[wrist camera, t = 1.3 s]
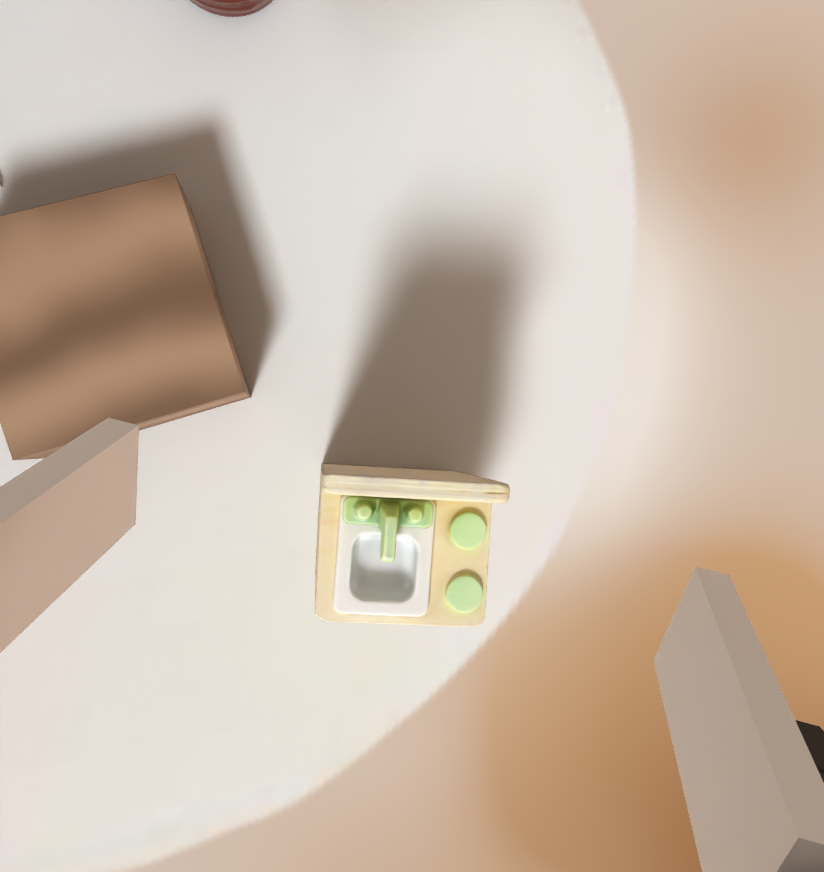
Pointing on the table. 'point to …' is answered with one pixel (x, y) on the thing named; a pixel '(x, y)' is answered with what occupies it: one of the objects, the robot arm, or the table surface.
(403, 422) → the table surface
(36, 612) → the robot arm
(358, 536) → the toy sink
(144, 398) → the walnut block
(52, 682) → the table surface
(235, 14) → the mug
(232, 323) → the table surface
